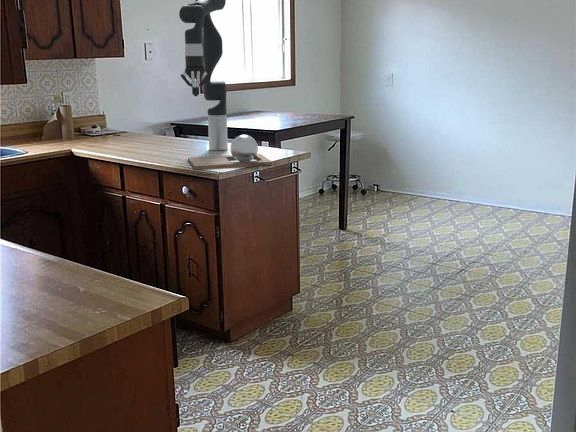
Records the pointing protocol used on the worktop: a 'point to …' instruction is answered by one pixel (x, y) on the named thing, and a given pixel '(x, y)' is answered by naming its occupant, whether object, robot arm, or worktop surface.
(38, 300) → the worktop surface
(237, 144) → the ball
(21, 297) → the worktop surface
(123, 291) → the worktop surface
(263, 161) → the wooden tray
